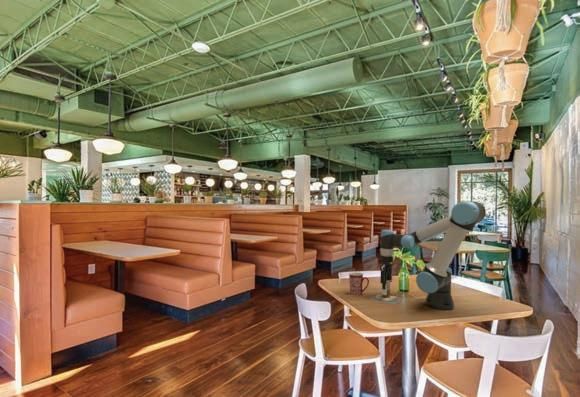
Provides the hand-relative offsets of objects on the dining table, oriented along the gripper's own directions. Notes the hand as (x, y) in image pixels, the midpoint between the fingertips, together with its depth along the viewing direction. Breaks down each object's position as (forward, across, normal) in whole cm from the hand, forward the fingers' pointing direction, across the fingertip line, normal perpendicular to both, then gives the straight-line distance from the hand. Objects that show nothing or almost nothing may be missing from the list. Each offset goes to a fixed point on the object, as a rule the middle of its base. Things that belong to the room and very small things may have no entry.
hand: (386, 293), depth 195 cm
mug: (+4, +3, -17) cm, 17 cm away
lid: (+3, 0, 0) cm, 3 cm away
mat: (+4, 0, 0) cm, 4 cm away
